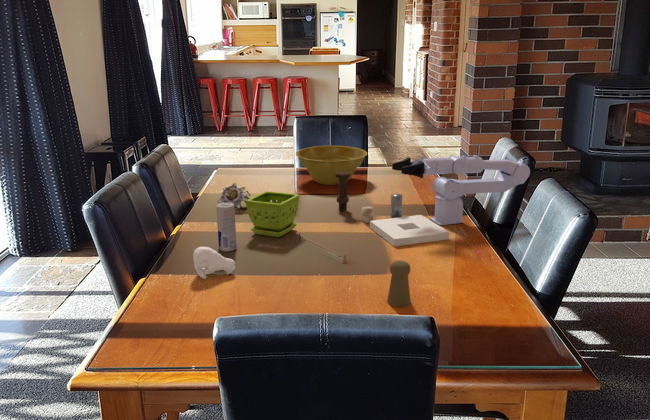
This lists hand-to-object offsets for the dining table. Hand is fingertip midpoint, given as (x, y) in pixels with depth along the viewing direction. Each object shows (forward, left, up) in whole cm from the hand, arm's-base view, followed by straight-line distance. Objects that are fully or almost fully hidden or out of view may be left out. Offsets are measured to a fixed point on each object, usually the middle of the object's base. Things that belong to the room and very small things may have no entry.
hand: (397, 168), depth 205 cm
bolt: (+11, -25, -21) cm, 34 cm away
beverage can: (+60, +1, -21) cm, 63 cm away
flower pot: (+42, -10, -21) cm, 48 cm away
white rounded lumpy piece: (+67, +20, -22) cm, 73 cm away
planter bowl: (0, -69, -21) cm, 72 cm away
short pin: (+7, -10, -21) cm, 24 cm away
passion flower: (+49, -43, -22) cm, 68 cm away
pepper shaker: (+25, +54, -21) cm, 63 cm away
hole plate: (-1, +7, -21) cm, 22 cm away
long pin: (-4, -9, -21) cm, 23 cm away
